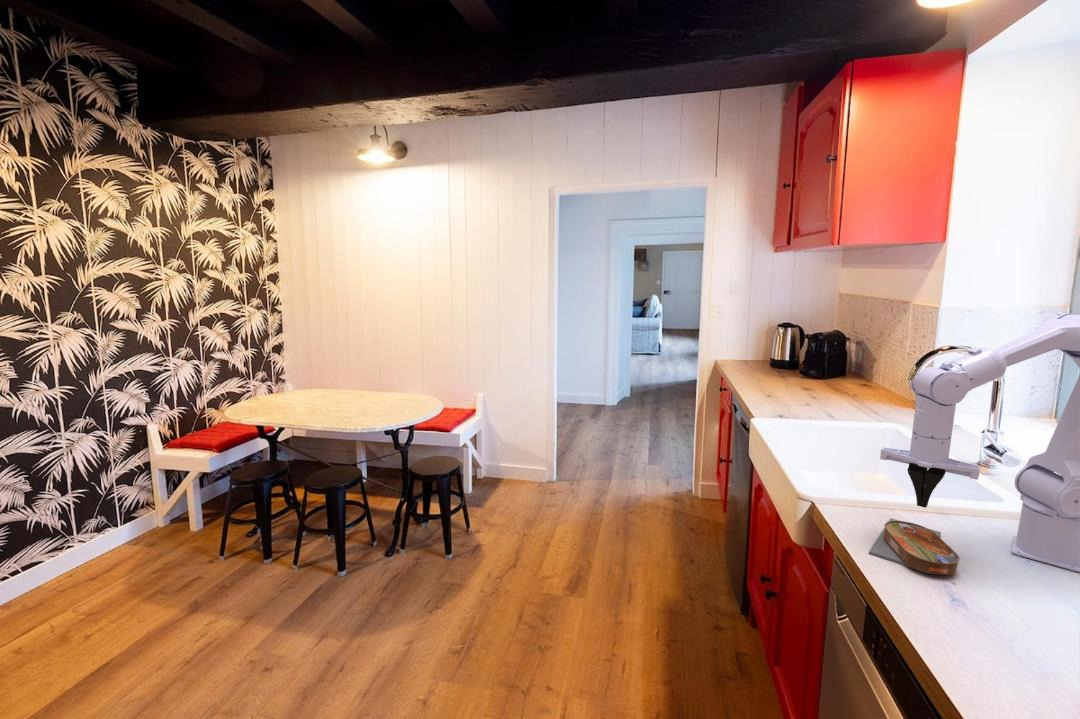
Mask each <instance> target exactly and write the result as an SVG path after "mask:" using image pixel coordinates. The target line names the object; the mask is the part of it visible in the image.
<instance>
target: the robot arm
mask: <svg viewBox="0 0 1080 719" xmlns="http://www.w3.org/2000/svg"><path fill="white" fill-rule="evenodd" d="M1055 350H1059V351H1061V352H1062V353H1064V354H1065V355H1066V356H1068V357H1069V358H1070V359H1072V361H1074V364H1076V366H1077V367H1078V368H1079V369H1080V314H1078V313H1073V312H1071V313H1070V312H1066V313H1062V314H1060V315H1058V316H1056V317H1055V318H1054V317H1053V318H1049V319H1047V320H1044V322H1043V324H1042V325H1041V326H1039V327H1037V328H1035V329H1034V330H1031V331H1030V332H1027V333H1025V334H1023V335H1021V336H1019V337H1017V338H1015V339H1013V340H1011V341H1008V342H1007V343H1005V344H1003V345H1001V346H1000V347H997V348H994V349H993V350H992V349H990V348H987V347H980V348H979V347H978V348H977V347H973V348H971V349H968V350H967V354H964V355H962V356H959V357H957V358H955V359H953V360H951V361H947V360H945V361H944V362H943V361H942V362H941V364H940V366H939V367H935V366H934V367H933V366H928V367H924V368H922V369H921V370H919V371H918V372H917V373H916V374H915V376H914V378H913V380H910V381H909V383H910V384H909V385H910V389H911V391H912V393H913V394H914V397H915V398H914V402H915V407H914V408H915V409H914V414H913V415H914V416H913V424H912V432H911V440H910V448H909V450H907V449H899V448H891V447H884V446H883V447H882V448H881V449H880V457H879V460H883V461H893V462H898V463H902V464H907V465H908V467H907V474H908V476H909V478H910V481H911V483H912V486H913V489H914V493H915V497H916V506H918V507H922V508H924V509H925V508H926V509H927V507H928V504H929V500H930V498H931V496H932V494H933V491H934V490H935V489H936V487H937V486H938V484H939V483H941V481H942V480H943V478H944V477H945V474H946V473H948V474H952V475H953V474H955V475H959V476H964V477H969V478H970V479H971V480H975V481H976V480H977V481H978V480H979V478H980V470H981V466H979V465H975V464H972V463H971V464H970V463H968V462H963V461H960V460H957V459H953V458H949V457H950V450H951V443H952V434H953V429H954V420H955V414H956V405H957V404H958V403H960V402H962V401H963V400H964V399H965V397H967V396H966V395H967V394H968V393H969V392H970V391H972V390H974V389H976V388H979V387H981V386H984V385H985V384H987V383H990V382H993V381H994V380H997V379H1000V378H1002V377H1003V376H1004V375H1005V373H1006V370H1007V368H1008V367H1011V366H1013V365H1015V364H1018V363H1021V362H1024V361H1027V360H1030V359H1032V358H1035V357H1038V356H1040V355H1043V354H1046V353H1049V352H1051V351H1055ZM1014 488H1015V489H1016V491H1017V492H1019V494H1020V499H1019V500H1021V501H1022V504H1021V509H1020V515H1019V522H1018V527H1017V528H1018V529H1017V534H1016V536H1015V535H1014V536H1013V540H1012V547H1011V554H1014V555H1017V556H1019V557H1020V556H1021V557H1024V558H1028V559H1031V560H1034V561H1038V562H1042V563H1046V564H1049V565H1052V566H1056V567H1060V568H1063V569H1067V570H1071V571H1075V572H1078V573H1080V374H1079V375H1078V378H1077V380H1076V382H1075V384H1074V386H1073V389H1072V391H1071V393H1070V395H1069V398H1068V400H1067V402H1066V404H1065V407H1064V409H1063V412H1062V414H1061V416H1060V418H1059V420H1058V422H1057V425H1056V426H1055V429H1054V431H1053V434H1052V436H1051V438H1050V441H1049V442H1048V445H1047V448H1046V450H1045V452H1044V451H1043V452H1042V453H1039V454H1036V455H1033V456H1031V457H1029V459H1028V461H1027V462H1026V464H1025V465H1024V467H1023V468H1021V469H1020V470H1019V471H1018V472H1017V473H1016V475H1015V478H1014Z"/></svg>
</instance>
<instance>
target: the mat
mask: <svg viewBox="0 0 1080 719" xmlns="http://www.w3.org/2000/svg"><path fill="white" fill-rule="evenodd" d="M890 521H900V520H899V519H895V518H892V517H891V518H889V520H888V521H887V522H890ZM928 529H929V530H931V531H933V532H934V533H935V534H936V535H937V536H938V537H940V538H941V535H942V532H941V531H940V530H939V531H938V530H934V529H931V528H928ZM884 531H885V527H883V530H881V532H880V534H879V535H878V537H877V538H876V539H875V541H874V543H873V544H872V546H871V548H870V549H869V551H868V555H871V556H875V557H878V558H880V559H883V560H884V559H885V560H886V561H887V560H888V561H890V562H893V563H897V564H899V565H902V566H905V567H908V568H912V567H911V566H909V565H907V564H906V563H905V562H904V561H903V560H902V559H901V558H900V557H899V555H898V554H897V553H896V552H895V551H894V550H893V549H892V547H891V546H890V545H889V544H888V543H887V542H886V540H885V538H884ZM912 569H913V568H912Z"/></svg>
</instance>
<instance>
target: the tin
mask: <svg viewBox="0 0 1080 719" xmlns="http://www.w3.org/2000/svg"><path fill="white" fill-rule="evenodd" d="M884 528H885V531H884V538H885V540H886V542H887V543H888V544H889V545H890V546H891V547H892V549H893V550H894V551H895V552H896V553H897V554H898V555H899V557H900V558H901V559H902V560H903V561H904V562H905V563H906V564H907V565H909V566H911V567H912V569H915V570H917V571H919V572H923V573H925V574H934V575H940V576H952V575H954V574H955V573H957V569H958V564H959V561H960V556H959V554H958V553H957V552H956V551H954V550H953V549H952V548H951V546H949V545H948V544H947V543H946V542H945V541H944V540H943V539H942V538H941V536H940V537H938V536H937V535H936V534H935V533H934V532H933V531H931V530H932V529H931V530H929V529H930V528H928V527H926V526H923V525H920V524H917V523H913V522H909V521H904V520H899V521H890V522H888V521H887V522H886V523H885V524H884ZM911 567H910V568H911Z"/></svg>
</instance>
